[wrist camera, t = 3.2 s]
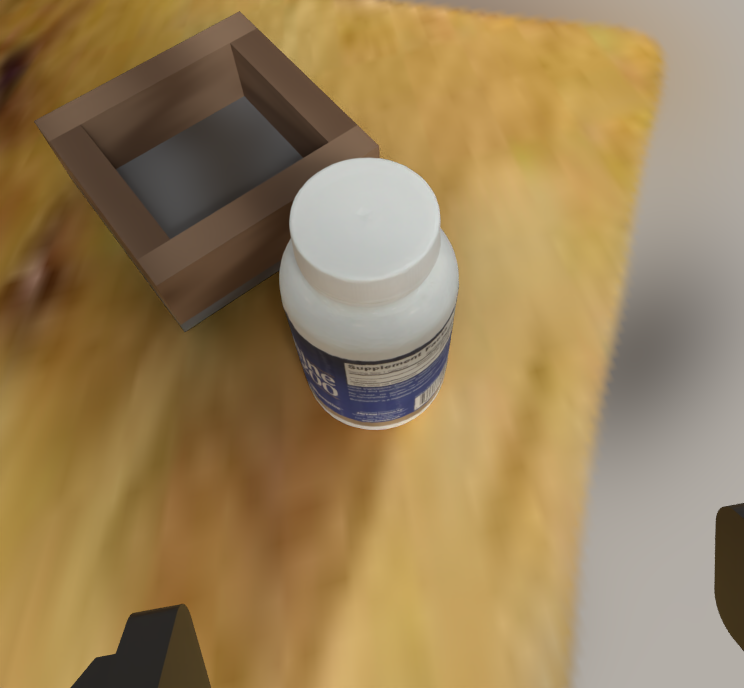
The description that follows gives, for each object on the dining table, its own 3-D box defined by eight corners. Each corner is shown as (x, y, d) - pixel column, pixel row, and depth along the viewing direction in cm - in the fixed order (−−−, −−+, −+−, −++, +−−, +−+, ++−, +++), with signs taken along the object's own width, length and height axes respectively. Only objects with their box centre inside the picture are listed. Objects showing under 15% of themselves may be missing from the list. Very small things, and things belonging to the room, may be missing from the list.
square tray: (184, 332, 28) (156, 285, 25) (71, 179, 31) (33, 121, 28) (381, 203, 30) (378, 146, 27) (254, 75, 34) (239, 11, 31)
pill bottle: (292, 325, 28) (243, 161, 19) (421, 292, 28) (430, 117, 19) (324, 451, 25) (284, 329, 17) (464, 412, 26) (496, 274, 17)
